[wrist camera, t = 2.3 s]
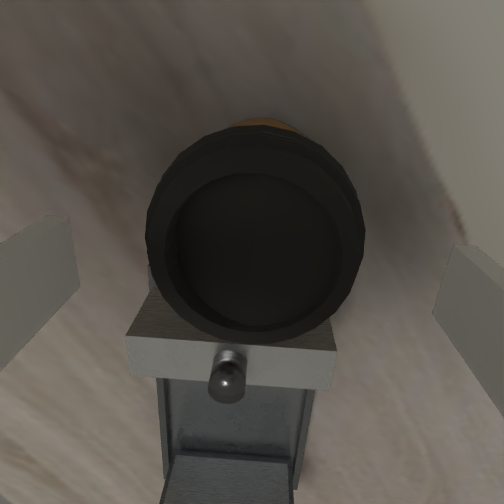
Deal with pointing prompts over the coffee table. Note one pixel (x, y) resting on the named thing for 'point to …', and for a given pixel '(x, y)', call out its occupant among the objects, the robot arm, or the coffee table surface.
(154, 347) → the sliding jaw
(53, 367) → the coffee table surface
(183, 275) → the coffee cup
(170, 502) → the base
